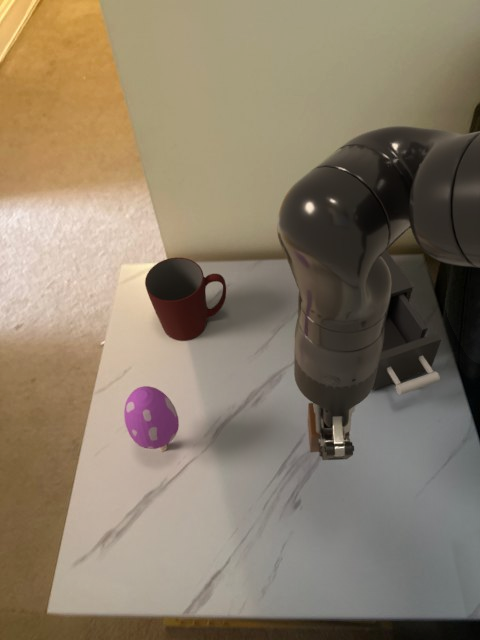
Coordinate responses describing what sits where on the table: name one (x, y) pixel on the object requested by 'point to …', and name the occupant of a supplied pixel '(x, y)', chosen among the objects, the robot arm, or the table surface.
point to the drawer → (406, 348)
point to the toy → (150, 418)
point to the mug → (181, 297)
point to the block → (312, 430)
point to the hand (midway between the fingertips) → (326, 433)
